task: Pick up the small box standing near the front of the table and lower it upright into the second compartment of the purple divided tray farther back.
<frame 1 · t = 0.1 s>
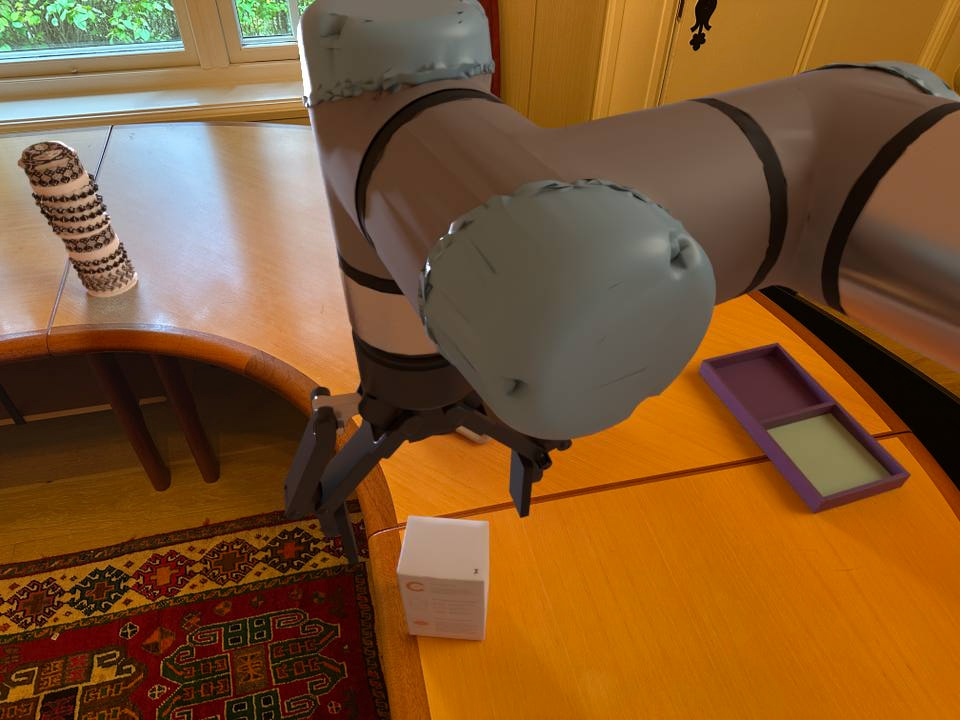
hand: (437, 525, 48), 22 cm above the table, tool pointing down, fingers open, 13 cm apart
small box: (450, 609, 65), on the table
purple divided tray: (790, 424, 84), on the table
wooden puzzle: (464, 385, 90), on the table
decorative candle: (113, 284, 108), on the table
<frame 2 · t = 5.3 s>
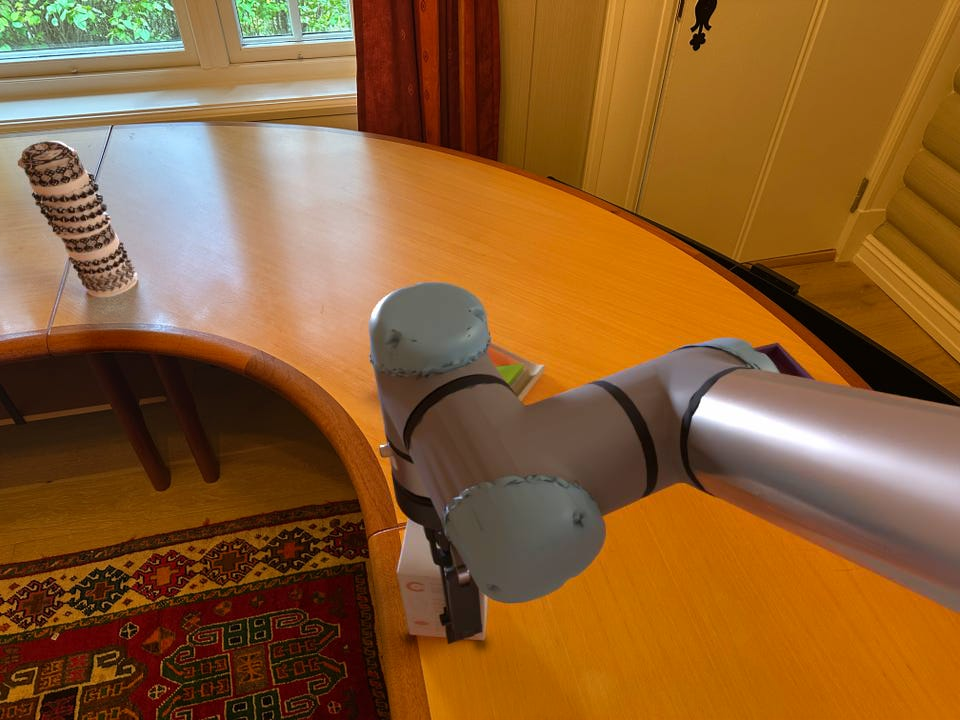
hand: (448, 595, 63), 3 cm above the table, tool pointing down, fingers closed on small box, 8 cm apart
small box: (450, 609, 65), on the table, touching gripper
everything else where it was.
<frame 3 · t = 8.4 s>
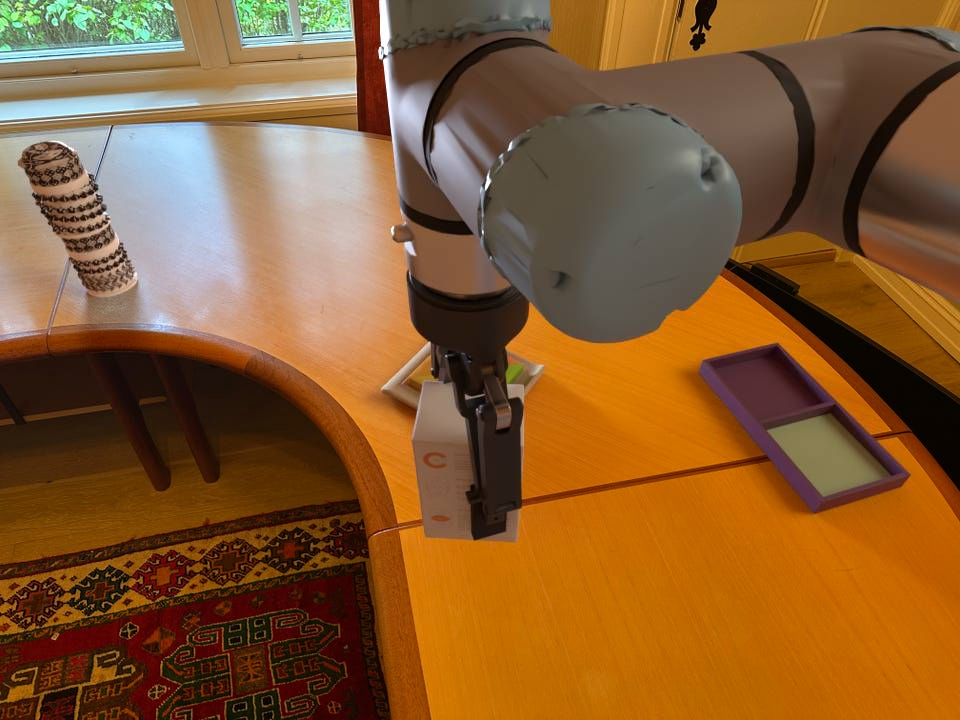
hand: (472, 489, 51), 21 cm above the table, tool pointing down, fingers closed on small box, 8 cm apart
small box: (473, 510, 54), point 18 cm above the table, touching gripper
everything else where it was.
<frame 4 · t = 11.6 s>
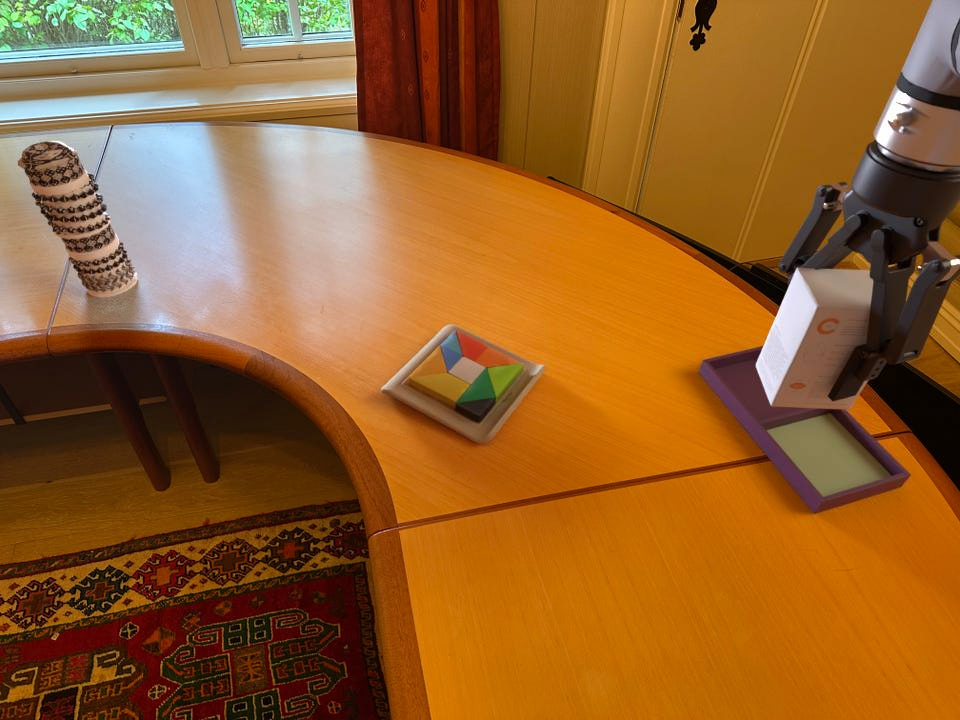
hand: (811, 366, 62), 21 cm above the table, tool pointing down, fingers closed on small box, 8 cm apart
small box: (799, 388, 64), point 18 cm above the table, touching gripper
everything else where it was.
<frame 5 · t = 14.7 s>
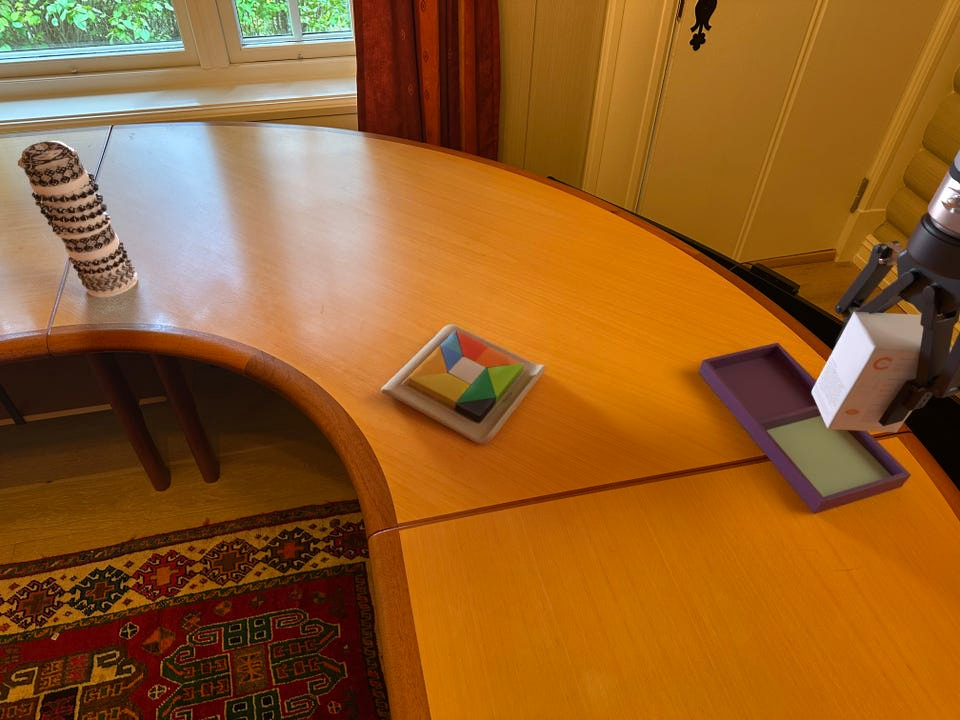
hand: (862, 394, 71), 12 cm above the table, tool pointing down, fingers closed on small box, 8 cm apart
small box: (850, 412, 73), point 9 cm above the table, touching gripper
everything else where it was.
when the fingers open (4 cm above the table, at t = 17.9 s): small box stays where it is, resting on purple divided tray.
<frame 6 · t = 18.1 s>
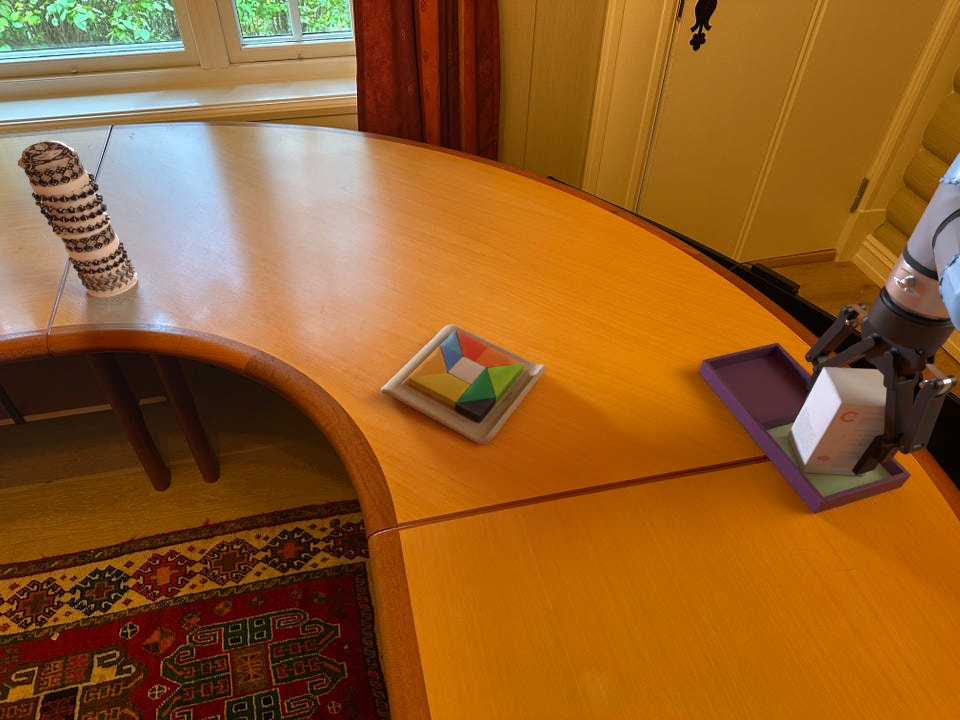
hand: (834, 439, 77), 4 cm above the table, tool pointing down, fingers open, 9 cm apart
small box: (823, 456, 79), point 1 cm above the table, touching purple divided tray
everything else where it was.
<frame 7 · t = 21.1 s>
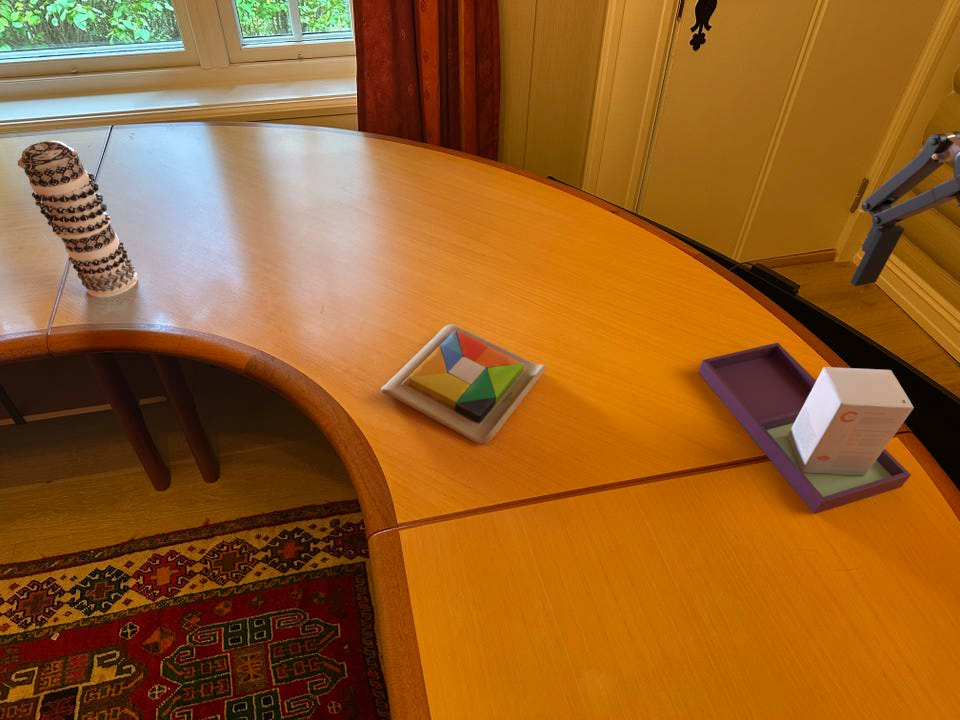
hand: (913, 321, 60), 26 cm above the table, tool pointing down, fingers open, 13 cm apart
nothing on the table moved.
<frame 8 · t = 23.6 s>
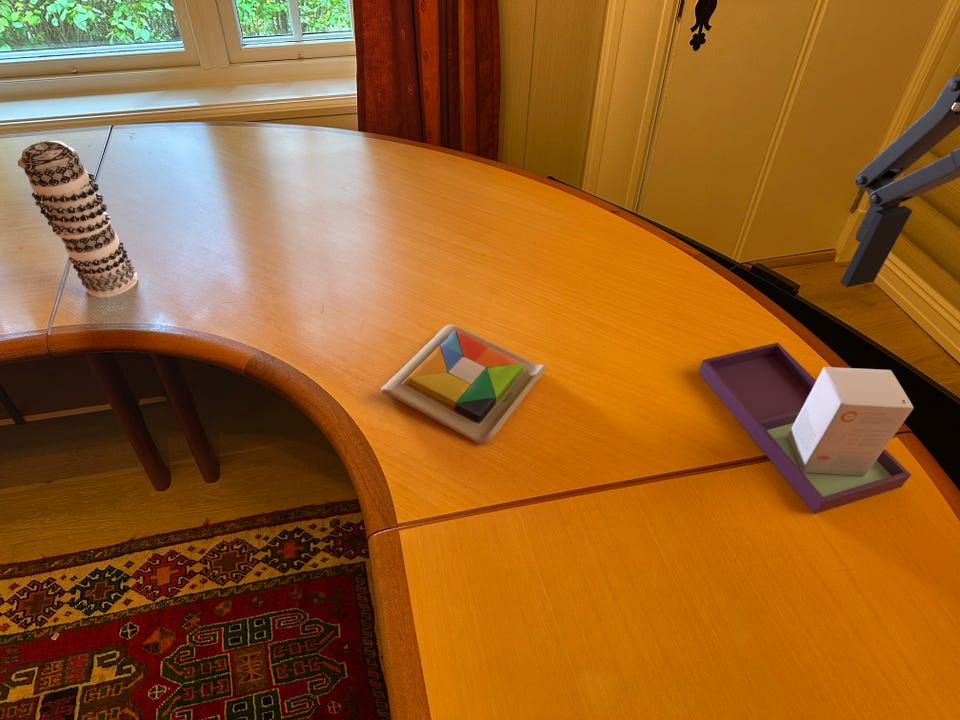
hand: (923, 334, 45), 35 cm above the table, tool pointing down, fingers open, 13 cm apart
nothing on the table moved.
at the end: small box inside the target area in the purple divided tray (0.0 cm from its centre), point 0.6 cm above the purple divided tray's base; small box tilted 0° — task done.
